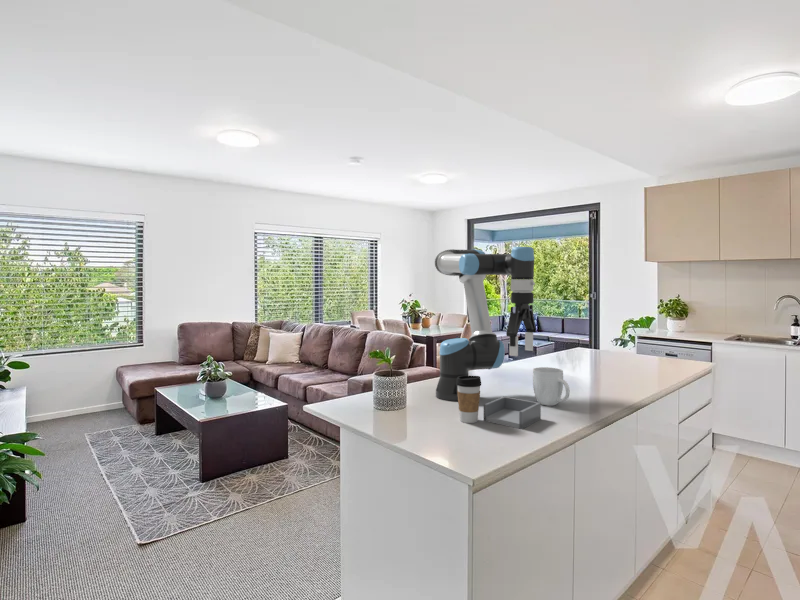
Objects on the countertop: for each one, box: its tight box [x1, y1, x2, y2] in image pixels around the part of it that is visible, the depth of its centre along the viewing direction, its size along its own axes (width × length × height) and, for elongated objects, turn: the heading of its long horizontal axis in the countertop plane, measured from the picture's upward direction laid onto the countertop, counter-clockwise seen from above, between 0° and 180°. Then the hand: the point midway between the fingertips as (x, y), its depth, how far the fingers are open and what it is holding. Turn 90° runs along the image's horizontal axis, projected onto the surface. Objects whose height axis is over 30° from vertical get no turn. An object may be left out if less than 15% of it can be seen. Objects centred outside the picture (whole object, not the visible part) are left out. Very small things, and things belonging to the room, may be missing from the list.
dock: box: [483, 396, 542, 430], centre depth 156 cm, size 14×14×6 cm
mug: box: [532, 366, 571, 407], centre depth 174 cm, size 15×11×13 cm
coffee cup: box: [456, 375, 482, 424], centre depth 155 cm, size 8×8×15 cm
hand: (521, 353), depth 159 cm, fingers open, 13 cm apart
